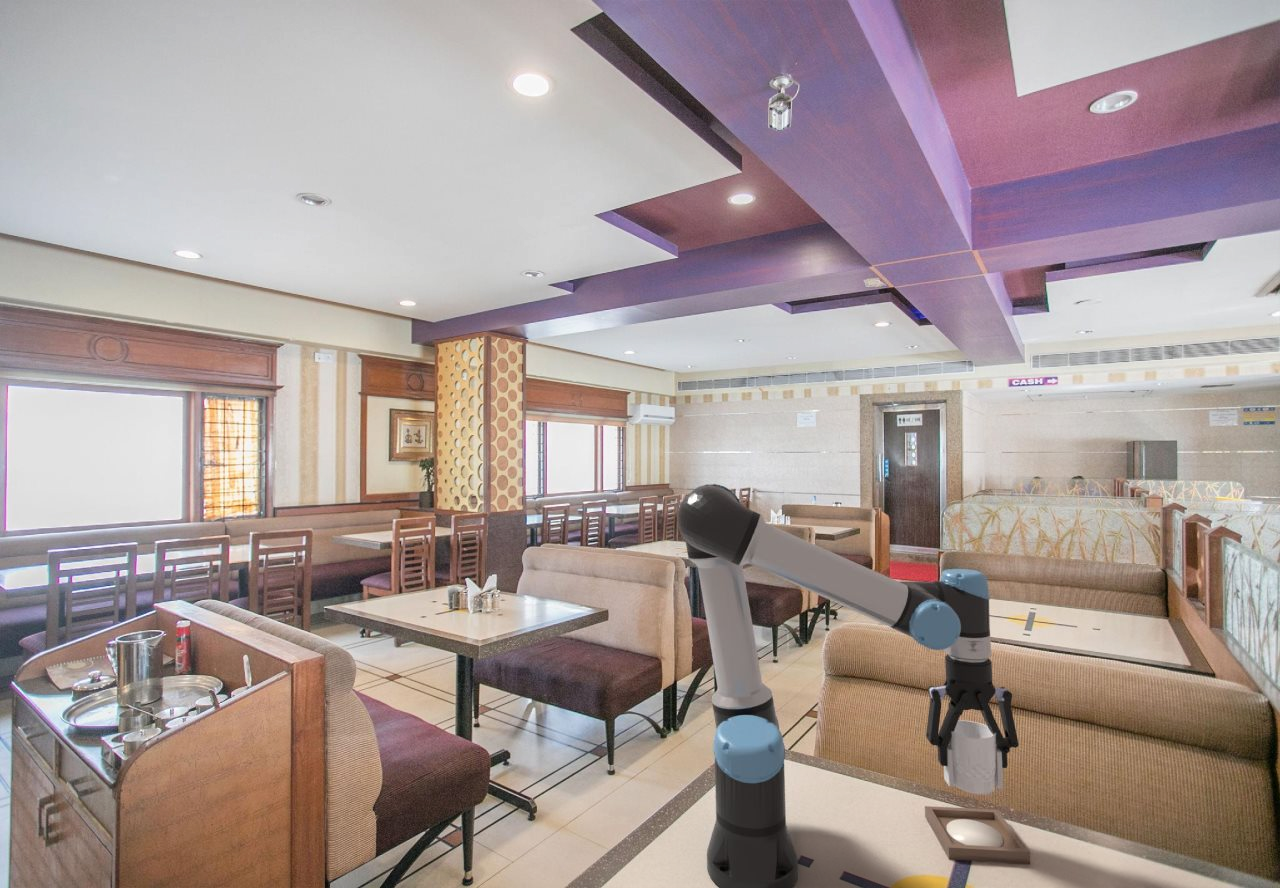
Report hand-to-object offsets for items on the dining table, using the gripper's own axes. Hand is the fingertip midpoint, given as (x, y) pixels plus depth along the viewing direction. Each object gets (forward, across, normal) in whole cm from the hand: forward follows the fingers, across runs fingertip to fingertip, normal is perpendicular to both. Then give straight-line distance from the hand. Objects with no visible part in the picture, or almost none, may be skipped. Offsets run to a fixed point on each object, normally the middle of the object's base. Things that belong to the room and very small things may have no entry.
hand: (973, 783), depth 114 cm
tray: (+10, 0, 0) cm, 10 cm away
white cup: (0, 0, 0) cm, 0 cm away
